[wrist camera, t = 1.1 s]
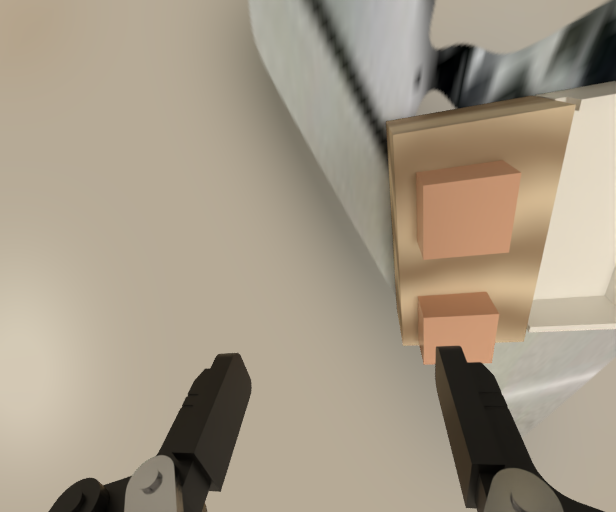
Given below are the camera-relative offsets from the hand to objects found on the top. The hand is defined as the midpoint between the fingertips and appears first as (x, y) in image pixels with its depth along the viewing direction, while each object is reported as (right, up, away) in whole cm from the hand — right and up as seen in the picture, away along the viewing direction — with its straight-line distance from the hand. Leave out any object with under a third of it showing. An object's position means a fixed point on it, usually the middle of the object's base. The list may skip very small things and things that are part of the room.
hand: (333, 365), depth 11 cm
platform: (+11, +7, +15) cm, 20 cm away
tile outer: (+11, -1, +14) cm, 18 cm away
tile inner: (+9, +7, +9) cm, 15 cm away
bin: (+20, +8, +13) cm, 25 cm away
